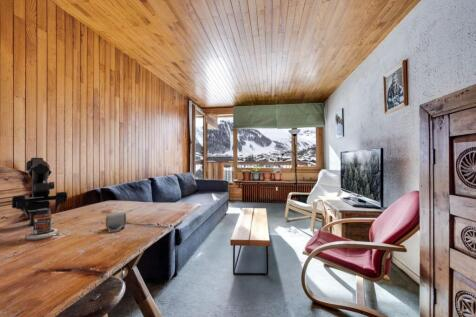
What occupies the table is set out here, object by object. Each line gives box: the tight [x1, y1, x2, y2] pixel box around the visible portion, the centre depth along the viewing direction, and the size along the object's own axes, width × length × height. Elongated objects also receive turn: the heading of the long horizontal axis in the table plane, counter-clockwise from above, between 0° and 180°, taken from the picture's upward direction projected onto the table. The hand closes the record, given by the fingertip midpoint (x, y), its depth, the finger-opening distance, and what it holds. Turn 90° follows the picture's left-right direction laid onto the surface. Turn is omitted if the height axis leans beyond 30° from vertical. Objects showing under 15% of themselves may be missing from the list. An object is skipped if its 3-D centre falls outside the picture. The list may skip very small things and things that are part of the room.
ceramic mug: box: [105, 211, 127, 233], centre depth 104 cm, size 11×8×8 cm
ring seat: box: [24, 228, 60, 241], centre depth 95 cm, size 11×11×2 cm
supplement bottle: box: [32, 208, 53, 235], centre depth 95 cm, size 6×6×11 cm
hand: (42, 214), depth 95 cm, fingers open, 9 cm apart
